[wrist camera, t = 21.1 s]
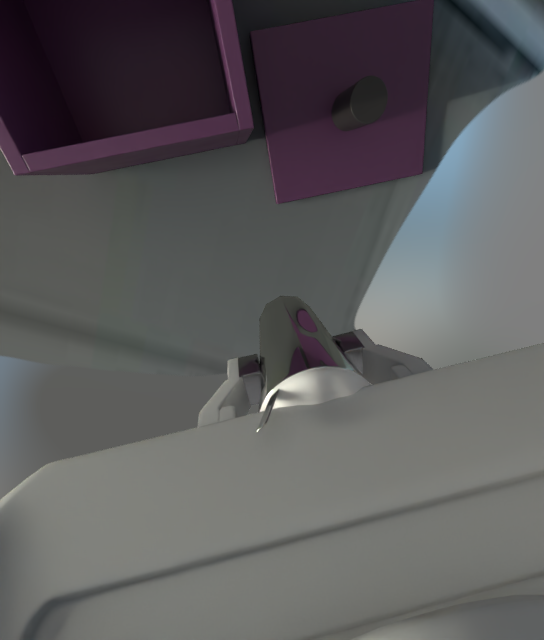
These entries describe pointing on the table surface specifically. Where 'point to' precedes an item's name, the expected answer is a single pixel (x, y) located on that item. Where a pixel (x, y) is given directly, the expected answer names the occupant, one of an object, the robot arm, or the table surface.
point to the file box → (118, 83)
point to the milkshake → (300, 359)
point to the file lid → (345, 98)
